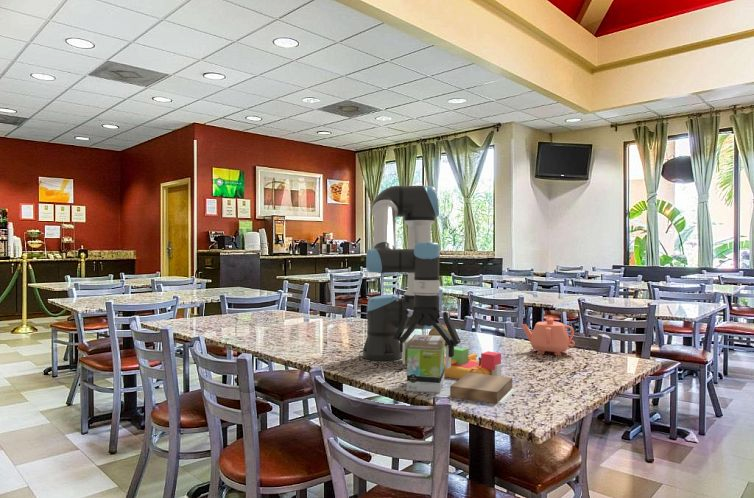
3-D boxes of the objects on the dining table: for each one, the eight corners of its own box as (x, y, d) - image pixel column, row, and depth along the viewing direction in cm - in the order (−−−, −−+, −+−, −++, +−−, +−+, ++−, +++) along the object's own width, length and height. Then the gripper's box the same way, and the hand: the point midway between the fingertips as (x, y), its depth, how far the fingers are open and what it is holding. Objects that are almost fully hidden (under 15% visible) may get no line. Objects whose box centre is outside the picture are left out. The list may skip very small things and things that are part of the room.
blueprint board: (438, 397, 147) (438, 394, 147) (457, 384, 162) (457, 381, 162) (503, 406, 139) (503, 403, 139) (517, 391, 153) (517, 388, 153)
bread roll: (436, 340, 237) (436, 322, 237) (464, 344, 227) (464, 325, 227) (423, 342, 230) (423, 324, 230) (451, 347, 220) (451, 328, 220)
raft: (437, 363, 192) (437, 338, 192) (513, 376, 172) (514, 349, 172) (398, 374, 175) (398, 347, 175) (478, 391, 155) (478, 360, 155)
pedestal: (450, 396, 145) (450, 385, 145) (469, 382, 160) (469, 372, 160) (497, 403, 139) (497, 392, 139) (512, 387, 154) (512, 377, 154)
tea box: (441, 395, 149) (441, 343, 149) (405, 393, 151) (406, 342, 151) (445, 382, 164) (445, 334, 164) (412, 380, 166) (413, 333, 166)
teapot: (519, 350, 213) (519, 317, 213) (551, 347, 221) (551, 315, 221) (549, 358, 199) (549, 322, 199) (581, 354, 206) (582, 320, 206)
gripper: (383, 293, 160) (383, 363, 160) (463, 296, 148) (462, 372, 148) (394, 291, 167) (393, 359, 166) (471, 295, 155) (470, 367, 155)
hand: (426, 365), depth 157 cm, fingers open, 13 cm apart
